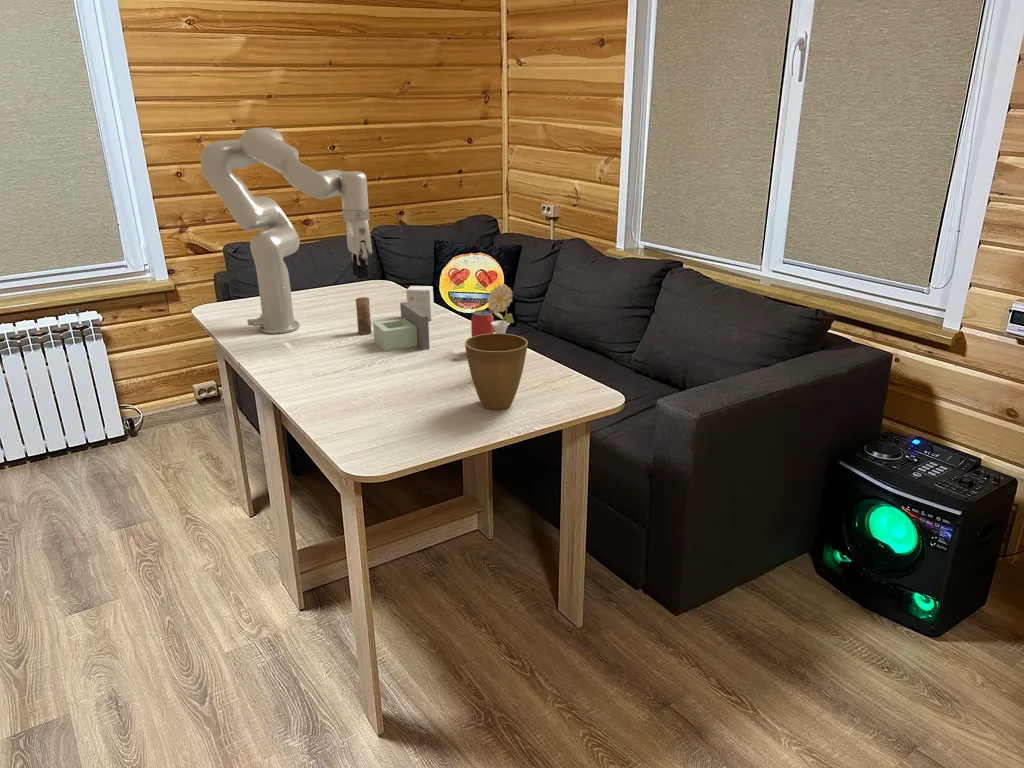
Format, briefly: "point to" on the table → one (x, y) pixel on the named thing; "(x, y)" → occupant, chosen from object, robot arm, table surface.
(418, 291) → the small box
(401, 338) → the sage block
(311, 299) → the table surface
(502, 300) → the flower in vase
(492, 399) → the plant pot
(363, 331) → the walnut dowel
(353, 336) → the table surface
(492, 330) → the beer can
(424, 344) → the board
